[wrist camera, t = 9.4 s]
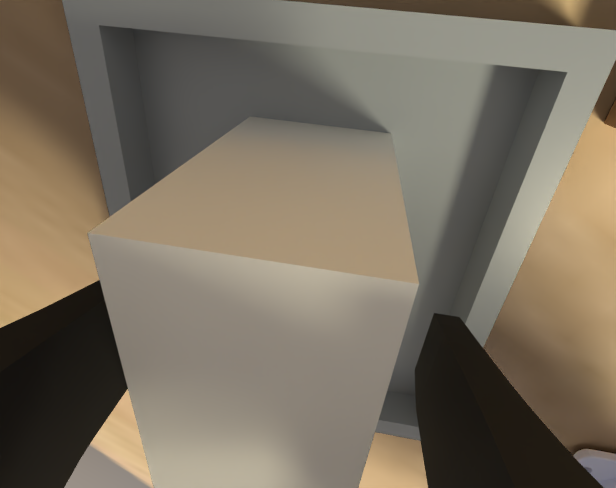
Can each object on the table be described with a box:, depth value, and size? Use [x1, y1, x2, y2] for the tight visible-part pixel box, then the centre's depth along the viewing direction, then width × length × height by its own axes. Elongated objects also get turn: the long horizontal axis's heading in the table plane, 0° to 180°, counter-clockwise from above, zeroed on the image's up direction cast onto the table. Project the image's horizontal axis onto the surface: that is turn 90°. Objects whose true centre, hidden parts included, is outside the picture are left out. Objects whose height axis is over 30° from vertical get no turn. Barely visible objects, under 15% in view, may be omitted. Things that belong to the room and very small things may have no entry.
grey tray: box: [62, 0, 616, 441], centre depth 12 cm, size 14×12×2 cm
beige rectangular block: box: [88, 117, 419, 488], centre depth 10 cm, size 9×4×7 cm, turn 175°
